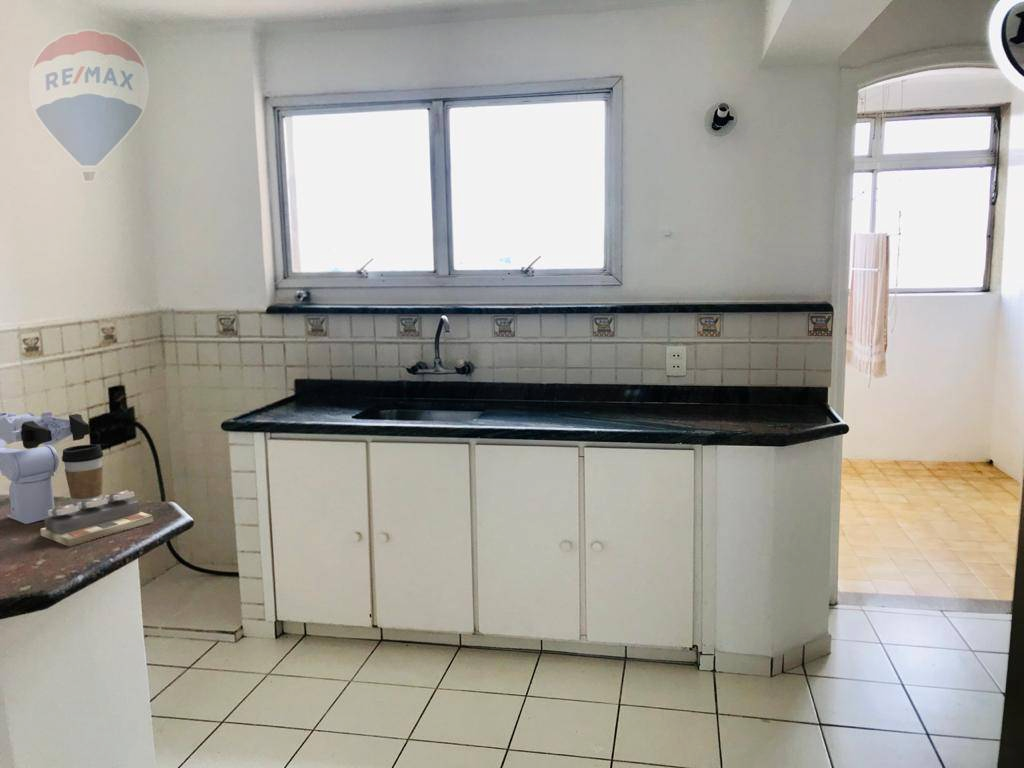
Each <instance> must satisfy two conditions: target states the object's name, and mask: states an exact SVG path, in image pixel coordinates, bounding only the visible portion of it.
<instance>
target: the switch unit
mask: <svg viewBox="0 0 1024 768" xmlns="http://www.w3.org/2000/svg"><path fill="white" fill-rule="evenodd" d="M79 510H80V511H76V512H73V513H69V514H66V515H62V516H58V517H54V516H49V517H45V518H44V525H45V527H41V528H40V530H39V531H40V536H42V537H43V538H47V539H49V540H51V541H55V542H57V543H59V544H61V545H64V546H66V547H74V546H77V545H79V544H83V543H87V542H89V541H93V539H94V540H96V538H97V539H100V538H99V537H101V538H104V537H107V536H111V535H114V534H118V533H121V532H124V530H125V531H128V530H130V529H134V528H139V527H142V526H144V525H147V524H152V523H154V516H153V514H149V513H145V512H143V511H140V502H139V501H138V500H134V499H131V498H127V499H123V500H119V501H115V502H110V501H108V503H107V504H103V505H100V506H96V507H92V508H88V509H85V510H84V509H83V508H80V509H79ZM127 529H128V530H127ZM113 533H114V534H113ZM110 534H111V535H110ZM106 535H107V536H106ZM103 536H104V537H103ZM86 541H87V542H86Z"/></svg>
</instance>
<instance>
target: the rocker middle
mask: <svg viewBox="0 0 1024 768" xmlns="http://www.w3.org/2000/svg"><path fill="white" fill-rule="evenodd" d="M107 503H108V501H107V499H105V498H103V496H102V497H97V498H93V499H90V500H86V501H82V502H79V503H77V506H79V508H83V509H84V510H85V509H88V508H92V507H96V506H100V505H103V504H107Z"/></svg>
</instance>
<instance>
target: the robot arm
mask: <svg viewBox="0 0 1024 768" xmlns="http://www.w3.org/2000/svg"><path fill="white" fill-rule="evenodd" d="M90 433H91V432H90V425H89V424H88V423H87V420H84V419H83V417H82V415H81V414H79V413H75V414H68V419H67V418H61V417H57V416H54V415H53V412H52V411H44V412H41V414H40V416H38V415H36V414H33V413H31V412H28V413H23V414H18V415H17V413H15V412H13V413H8V412H6V411H3V412H0V473H1V475H2V476H4V477H5V478H6V479H8V480H9V481H11V482H10V484H9V488H8V495H9V500H10V501H9V503H10V511H11V513H9V514H7V518H9V519H12V520H14V521H18V522H20V523H23V524H25V525H29V524H32V523H36V522H40V521H45V519H44V518H45V517H49V516H53V515H48V510H52V509H54V508H56V507H55V500H54V498H55V497H54V492H53V491H54V490H53V483H52V477H54V476H55V474H54V473H56V471H58V468H59V464H60V459H59V455H58V452H57V450H56V449H55V448H54V447H53V445H56V444H58V443H59V442H60V441H63V440H65V439H66V438H68V437H71V436H72V441H79V440H83V439H85V436H88V435H90ZM5 442H6V444H7V445H10V444H12V443H18V442H22V446H23V448H25V449H20V448H10V447H5ZM40 445H44V446H40ZM39 446H40V447H39Z"/></svg>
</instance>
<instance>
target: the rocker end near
mask: <svg viewBox="0 0 1024 768" xmlns="http://www.w3.org/2000/svg"><path fill="white" fill-rule="evenodd" d="M76 511H80V510H79V506H74V505H73V504H72V503H70V504H67V505H62V506H59V507H55V508H54V509H52V510H48V515H53V516H54V517H58V516H62V515H66V514H69V513H73V512H76Z"/></svg>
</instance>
